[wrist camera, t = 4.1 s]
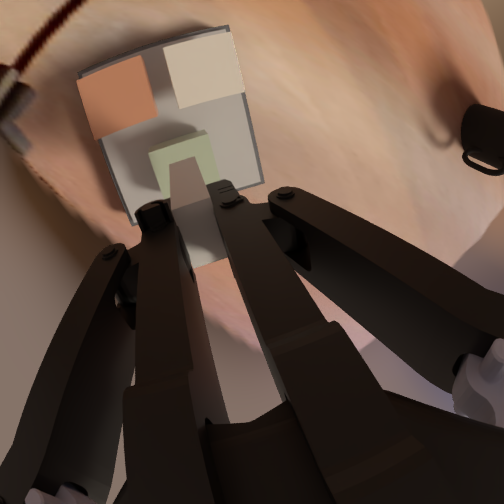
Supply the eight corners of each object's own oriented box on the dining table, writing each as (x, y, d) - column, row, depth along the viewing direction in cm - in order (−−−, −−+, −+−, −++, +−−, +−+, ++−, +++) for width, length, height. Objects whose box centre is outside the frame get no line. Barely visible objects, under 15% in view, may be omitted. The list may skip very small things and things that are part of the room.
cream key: (163, 52, 16) (162, 47, 14) (223, 37, 17) (231, 31, 15) (178, 107, 18) (179, 109, 16) (236, 91, 19) (245, 91, 17)
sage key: (150, 146, 21) (148, 153, 19) (203, 129, 21) (207, 133, 19) (166, 195, 23) (167, 207, 21) (217, 179, 23) (223, 189, 21)
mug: (440, 130, 30) (504, 154, 22) (482, 95, 29) (539, 112, 20) (452, 179, 35) (507, 210, 26) (492, 141, 33) (542, 164, 25)
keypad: (85, 73, 19) (76, 72, 16) (222, 30, 20) (229, 23, 18) (134, 214, 27) (131, 228, 24) (256, 174, 28) (266, 184, 25)
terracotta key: (86, 81, 16) (76, 81, 13) (143, 59, 16) (140, 54, 14) (102, 134, 18) (94, 140, 16) (158, 113, 18) (157, 116, 16)
